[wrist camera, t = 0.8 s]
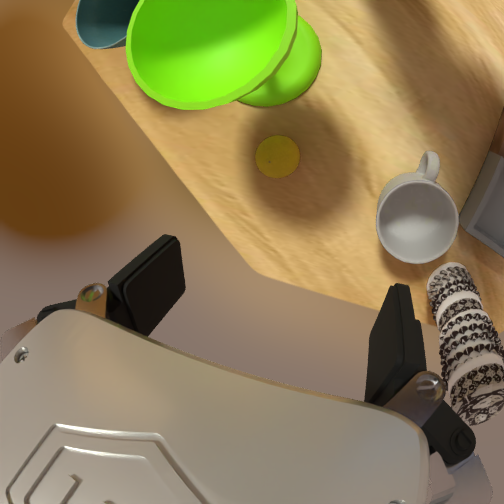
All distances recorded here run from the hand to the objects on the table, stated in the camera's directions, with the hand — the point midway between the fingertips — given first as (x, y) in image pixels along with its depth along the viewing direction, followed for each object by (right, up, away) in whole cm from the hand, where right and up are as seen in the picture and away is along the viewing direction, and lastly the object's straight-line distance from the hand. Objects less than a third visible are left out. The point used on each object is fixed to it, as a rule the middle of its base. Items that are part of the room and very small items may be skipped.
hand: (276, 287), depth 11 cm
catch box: (+36, +9, +16) cm, 41 cm away
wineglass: (+1, +29, +19) cm, 34 cm away
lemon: (+4, +16, +26) cm, 30 cm away
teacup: (+21, +10, +22) cm, 32 cm away
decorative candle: (+32, -4, +26) cm, 41 cm away
